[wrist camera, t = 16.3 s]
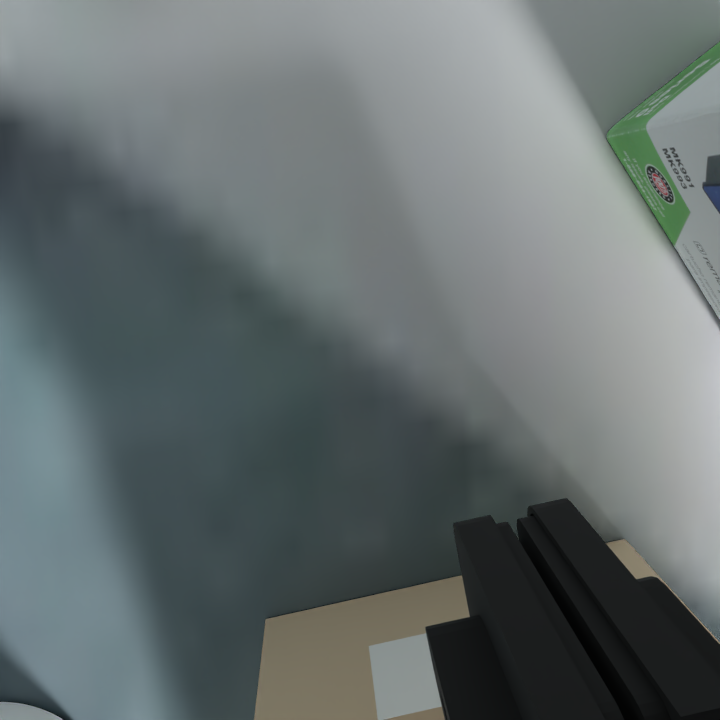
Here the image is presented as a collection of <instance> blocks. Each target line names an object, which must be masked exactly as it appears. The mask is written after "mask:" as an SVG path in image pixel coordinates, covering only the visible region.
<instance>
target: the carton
mask: <svg viewBox="0 0 720 720" xmlns="http://www.w3.org/2000/svg"><path fill="white" fill-rule="evenodd" d="M606 544H607V545H608V547H609V548H610V549H611V550H612V551H613V552H614V554H615V555H616V556H617V557H618V558H619V560H620V561H621V562H622V563H623V564H624V565H625V567H626V568H627V569H628V570H629V571H630V572H631V574H632V575H633V576H634V577H635V578H636V579H640V578H644V577H649V576H653V577H657V578H658V579H659V580H661V581H662V582H663V583H664V584H665V585H666V586H667V587H668V588H669V586H668V585H667V584H666V583H665V582H664V581H663V580H662V579H661V578H660V577H659V576H658V574H657V573H656V572H655V571H654V570H653V569H652V568H651V567H650V566H649V565H648V564H647V562H646V561H645V560H644V559H643V558H642V557H641V556H640V555H639V554H638V553H637V552H636V550H635V549H634V548H633V547H632V546H631V545H630V544H629V543H628V542H627V541H626V540H625V539H622V540H617V541H613V542H608V543H606ZM669 589H670V588H669ZM670 590H671V589H670ZM671 591H672V590H671ZM672 593H673V594H674V595H675V596H676V597H677V598H678V599H679V600H680V598H679V597H678V596H677V595H676V594H675V593H674V592H673V591H672ZM680 601H681V600H680ZM681 602H682V601H681ZM682 603H683V602H682ZM683 605H684V606H685V607H686V608H687V609H688V610H689V611H690V612H691V610H690V609H689V608H688V607H687V606H686V605H685V604H684V603H683ZM691 613H692V612H691ZM692 614H693V613H692ZM693 616H694V617H695V618H696V619H697V620H698V621H699V622H700V623H701V624H702V622H701V621H700V620H699V619H698V618H697V617H696V616H695V615H694V614H693ZM466 617H470V615H469V610H468V605H467V599H466V594H465V589H464V583H463V578H462V575H461V576H456V577H452V578H447V579H443V580H438V581H434V582H429V583H425V584H420V585H416V586H411V587H407V588H403V589H398V590H394V591H389V592H385V593H380V594H376V595H371V596H367V597H362V598H358V599H353V600H349V601H344V602H340V603H335V604H331V605H326V606H322V607H318V608H313V609H309V610H304V611H300V612H295V613H291V614H286V615H282V616H277V617H273V618H268V619H266V620H265V629H264V638H263V646H262V655H261V664H260V672H259V681H258V690H257V698H256V707H255V716H254V720H384V719H389V718H393V717H398V716H402V715H406V714H411V713H415V712H420V711H424V710H428V709H433V708H437V707H442V705H441V701H440V696H439V692H438V688H437V683H436V678H435V674H434V669H433V664H432V659H431V655H430V650H429V645H428V640H427V635H426V630H425V627H426V626H431V625H435V624H440V623H444V622H449V621H453V620H457V619H462V618H466ZM702 625H703V624H702ZM703 627H704V628H705V629H706V630H707V631H708V632H709V633H710V634H711V635H712V636H713V634H712V633H711V632H710V631H709V630H708V629H707V628H706V627H705V626H704V625H703ZM713 637H714V636H713ZM714 639H715V640H716V641H717V642H718V643H720V642H719V641H718V640H717V639H716V638H715V637H714Z"/></svg>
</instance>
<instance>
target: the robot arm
mask: <svg viewBox="0 0 720 720" xmlns="http://www.w3.org/2000/svg"><path fill="white" fill-rule="evenodd" d="M453 528H454V535H455V541H456V546H457V552H458V557H459V562H460V567H461V573H462V578H463V583H464V589H465V594H466V599H467V605H468V610H469V615H470V617H466V618H462V619H457V620H453V621H449V622H444V623H440V624H435V625H431V626H426V627H425V630H426V635H427V640H428V645H429V650H430V655H431V659H432V664H433V669H434V674H435V678H436V683H437V688H438V692H439V696H440V701H441V705H442V710H443V714H444V718H445V720H720V644H719V643H718V642H717V641H716V640H715V639H714V637H713V636H712V635H711V634H710V633H709V632H708V631H707V630H706V629H705V628H704V627H703V625H702V624H701V623H700V622H699V621H698V620H697V619H696V618H695V617H694V616H693V614H692V613H691V612H690V611H689V610H688V609H687V608H686V607H685V606H684V605H683V603H682V602H681V601H680V600H679V599H678V598H677V597H676V596H675V595H674V594H673V593H672V591H671V590H670V589H669V588H668V587H667V586H666V585H665V584H664V583H663V582H662V581H661V580H659V579H658V578H657V577H653V576H649V577H644V578H640V579H636V578H635V577H634V576H633V575H632V574H631V572H630V571H629V570H628V569H627V568H626V567H625V565H624V564H623V563H622V562H621V561H620V560H619V558H618V557H617V556H616V555H615V554H614V552H613V551H612V550H611V549H610V548H609V547H608V545H607V544H606V543H605V542H604V541H603V539H602V538H601V537H600V536H599V535H598V534H597V532H596V531H595V530H594V529H593V528H592V527H591V525H590V524H589V523H588V522H587V521H586V519H585V518H584V517H583V516H582V515H581V514H580V512H579V511H578V510H577V509H576V508H575V507H574V505H573V504H572V503H571V502H570V501H569V500H568V499H567V498H564V499H560V500H555V501H551V502H546V503H542V504H537V505H533V506H529V507H528V517H525V518H521V519H518V520H517V531H518V537H519V540H518V538H517V537H516V535H515V533H514V532H513V530H512V528H511V527H510V525H509V524H508V522H503V523H498V524H496V523H495V522H494V520H493V518H492V517H491V515H488V516H483V517H479V518H474V519H470V520H465V521H461V522H456V523H453Z"/></svg>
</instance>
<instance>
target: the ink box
mask: <svg viewBox="0 0 720 720" xmlns="http://www.w3.org/2000/svg"><path fill="white" fill-rule="evenodd" d="M607 140H608V142H609V144H610V145H611V147H612V148H613V150H614V151H615V153H616V155H617V156H618V158H619V160H620V161H621V163H622V164H623V166H624V167H625V169H626V171H627V172H628V174H629V175H630V177H631V179H632V180H633V182H634V183H635V185H636V186H637V188H638V190H639V192H640V193H641V195H642V196H643V198H644V199H645V201H646V202H647V204H648V205H649V207H650V208H651V210H652V212H653V214H654V215H655V217H656V218H657V220H658V221H659V223H660V225H661V226H662V228H663V229H664V231H665V233H666V234H667V236H668V238H669V239H670V241H671V242H672V244H673V245H674V247H675V248H676V250H677V251H678V253H679V255H680V257H681V258H682V260H683V261H684V263H685V265H686V266H687V268H688V269H689V271H690V273H691V274H692V276H693V278H694V279H695V281H696V282H697V284H698V286H699V287H700V289H701V291H702V292H703V294H704V296H705V297H706V299H707V300H708V302H709V303H710V305H711V306H712V308H713V310H714V311H715V313H716V315H717V316H718V318H719V320H720V42H719V43H717V44H716V45H715V46H714V47H712V48H711V49H710V50H708V51H707V52H706V53H705V54H703V55H702V56H701V57H699V58H698V59H697V60H696V61H694V62H693V63H692V64H691V65H689V66H688V67H687V68H686V69H684V70H683V71H682V72H681V73H679V74H678V75H677V76H676V77H675V78H673V79H672V80H671V81H669V82H668V83H667V84H665V85H664V86H663V87H662V88H660V89H659V90H658V91H656V92H655V93H654V94H652V95H651V96H650V97H649V98H647V99H646V100H645V101H644V102H642V103H641V104H640V105H639V106H637V107H636V108H635V109H634V110H632V111H631V112H630V113H629V114H627V115H626V116H625V117H624V118H622V119H621V120H620V121H619V122H618V123H616V124H615V125H614V126H613V127H612V128H611V129H610V130H609V131H608V133H607Z"/></svg>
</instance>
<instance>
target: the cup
mask: <svg viewBox="0 0 720 720" xmlns="http://www.w3.org/2000/svg"><path fill="white" fill-rule="evenodd" d="M0 720H63V719H62V718H60V717H58V716H56V715H54V714H52V713H50V712H48V711H45V710H43V709H40V708H37V707H34V706H30V705H26V704H20V703H13V702H0Z"/></svg>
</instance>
